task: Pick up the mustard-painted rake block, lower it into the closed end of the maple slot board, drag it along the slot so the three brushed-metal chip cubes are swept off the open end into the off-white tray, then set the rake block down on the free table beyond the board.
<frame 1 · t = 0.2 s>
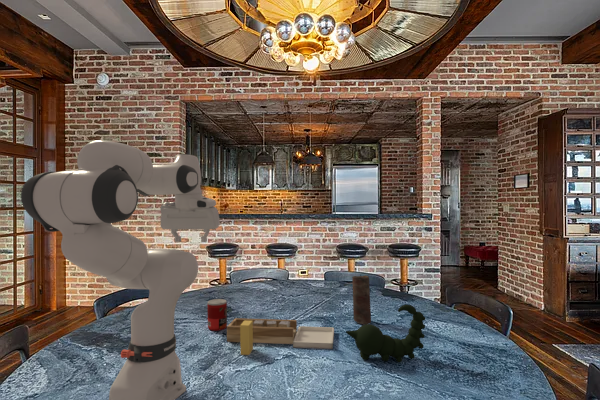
hand: (191, 241, 122), 39 cm above the table, tool pointing down, fingers open, 8 cm apart
chip b: (271, 331, 134), point 2 cm above the table, touching slot board
toy figurine: (385, 359, 115), on the table
candle: (362, 322, 150), on the table
chip a: (258, 331, 135), point 2 cm above the table, touching slot board
slot board: (262, 337, 135), on the table
tray: (314, 339, 132), on the table
canned food: (217, 328, 146), on the table
rake block: (246, 351, 122), on the table
chip c: (284, 331, 134), point 2 cm above the table, touching slot board
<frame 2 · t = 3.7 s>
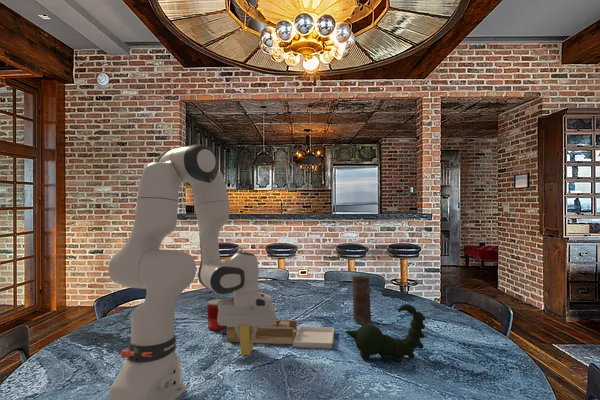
hand: (246, 338, 122), 5 cm above the table, tool pointing down, fingers closed on rake block, 3 cm apart
rake block: (246, 351, 122), on the table, touching gripper
everything else where it was.
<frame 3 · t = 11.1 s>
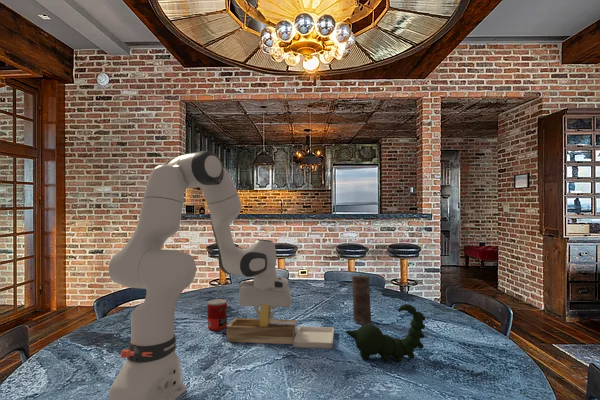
hand: (265, 317, 135), 8 cm above the table, tool pointing down, fingers closed on rake block, 3 cm apart
chip b: (282, 332, 133), point 3 cm above the table, touching chip a, chip c
chip a: (273, 331, 134), point 3 cm above the table, touching chip b, rake block
rake block: (264, 329, 135), point 3 cm above the table, touching chip a, gripper
chip c: (291, 332, 133), point 3 cm above the table, touching chip b
everything else where it was.
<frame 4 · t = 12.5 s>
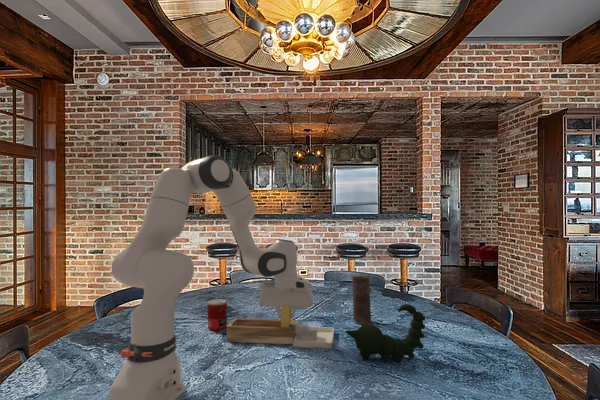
hand: (286, 318, 134), 8 cm above the table, tool pointing down, fingers closed on rake block, 3 cm apart
chip b: (303, 334, 132), point 2 cm above the table, touching chip c
chip a: (293, 331, 133), point 3 cm above the table, touching slot board
rake block: (285, 329, 134), point 3 cm above the table, touching gripper
chip c: (307, 333, 132), point 2 cm above the table, tilted 91°, touching chip b
everything else where it was.
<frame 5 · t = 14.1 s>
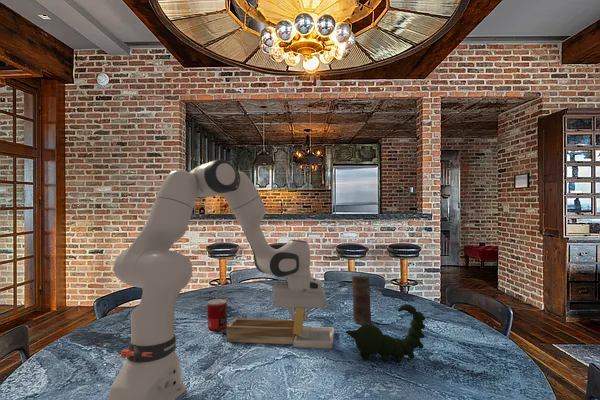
hand: (299, 318, 133), 8 cm above the table, tool pointing down, fingers closed on rake block, 3 cm apart
chip b: (315, 338, 132), resting on tray, touching chip a, chip c
chip a: (306, 336, 133), point 1 cm above the table, touching chip b, rake block
rake block: (297, 331, 133), point 3 cm above the table, tilted 8°, touching chip a, gripper
chip c: (320, 333, 132), point 2 cm above the table, tilted 90°, touching chip b, tray
everything else where it was.
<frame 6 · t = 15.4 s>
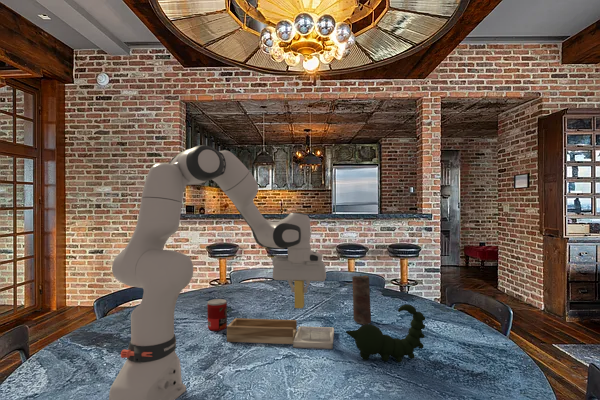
hand: (299, 292, 133), 18 cm above the table, tool pointing down, fingers closed on rake block, 3 cm apart
chip b: (316, 338, 132), resting on tray, touching chip c
chip a: (306, 337, 133), resting on tray
rake block: (299, 306, 133), point 12 cm above the table, touching gripper
everything else where it was.
when the fingers open (6 cm above the table, at t = 19.8 s): rake block stays where it is, on the table.
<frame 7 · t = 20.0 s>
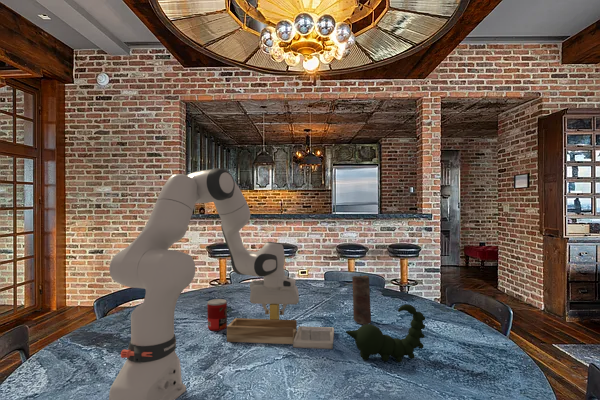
hand: (274, 314, 145), 6 cm above the table, tool pointing down, fingers open, 5 cm apart
rake block: (274, 327, 145), on the table
everything else where it was.
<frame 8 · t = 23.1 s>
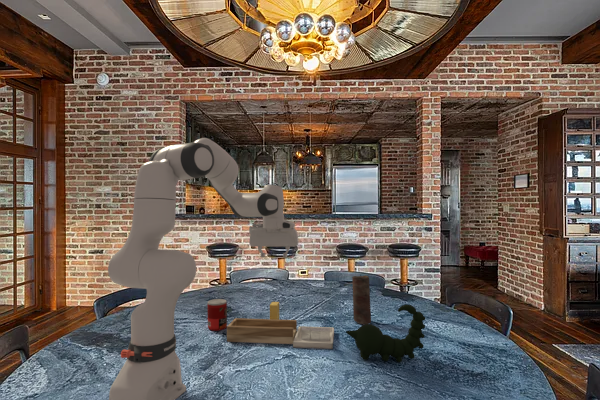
hand: (274, 257, 146), 29 cm above the table, tool pointing down, fingers open, 8 cm apart
nothing on the table moved.
at the end: chip a inside the target area on the tray (3.2 cm from its centre), point 0.5 cm above the tray's base; chip c inside the target area on the tray (2.3 cm from its centre), point 2.2 cm above the tray's base; rake block inside the target area (0.1 cm from its centre), on the table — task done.
